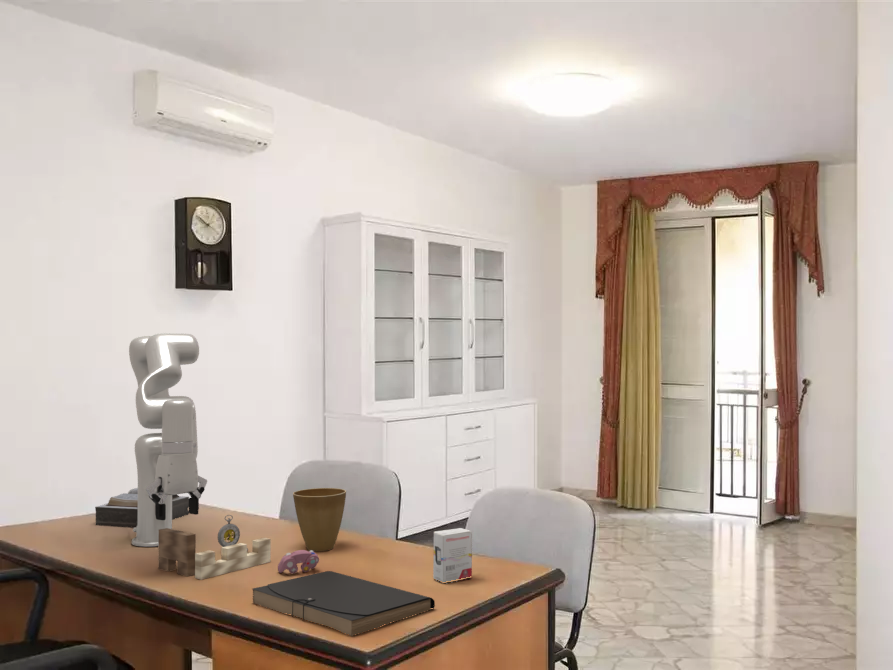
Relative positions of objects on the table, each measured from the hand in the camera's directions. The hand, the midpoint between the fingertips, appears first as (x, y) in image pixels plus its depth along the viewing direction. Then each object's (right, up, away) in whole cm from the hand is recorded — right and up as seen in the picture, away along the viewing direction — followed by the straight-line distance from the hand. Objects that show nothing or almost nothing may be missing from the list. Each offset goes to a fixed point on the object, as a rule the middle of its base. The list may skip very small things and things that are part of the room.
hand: (177, 516), depth 214 cm
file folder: (+45, -14, -29) cm, 55 cm away
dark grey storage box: (-32, -16, +66) cm, 75 cm away
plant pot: (+32, -15, +26) cm, 43 cm away
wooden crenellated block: (+14, -14, +2) cm, 20 cm away
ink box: (+69, -14, -7) cm, 71 cm away
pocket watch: (+9, -15, +21) cm, 27 cm away
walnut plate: (0, -14, 0) cm, 14 cm away
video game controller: (+31, -14, 0) cm, 34 cm away
